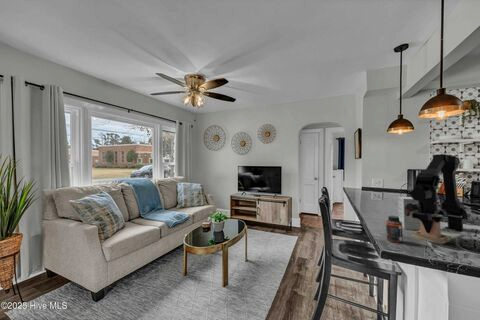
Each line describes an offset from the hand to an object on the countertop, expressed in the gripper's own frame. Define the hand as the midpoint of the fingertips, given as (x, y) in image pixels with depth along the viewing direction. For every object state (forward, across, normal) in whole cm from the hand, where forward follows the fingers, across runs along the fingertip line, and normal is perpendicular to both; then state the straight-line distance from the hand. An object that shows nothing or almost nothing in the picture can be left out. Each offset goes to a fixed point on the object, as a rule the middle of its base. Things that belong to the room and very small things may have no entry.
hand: (430, 232), depth 96 cm
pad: (+3, -13, 0) cm, 13 cm away
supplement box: (+3, -12, -13) cm, 18 cm away
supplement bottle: (+3, +18, -6) cm, 19 cm away
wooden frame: (+3, 0, 0) cm, 3 cm away
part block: (+3, 0, 0) cm, 3 cm away
